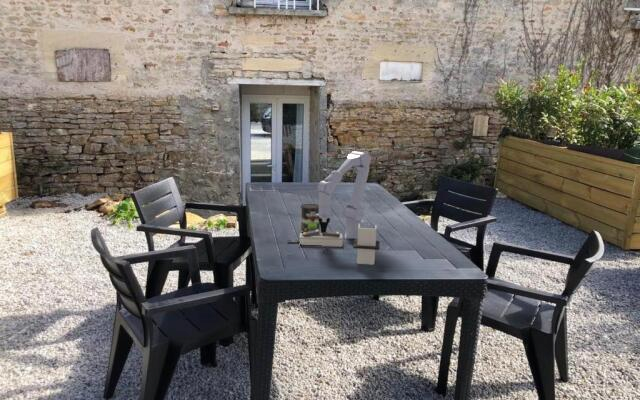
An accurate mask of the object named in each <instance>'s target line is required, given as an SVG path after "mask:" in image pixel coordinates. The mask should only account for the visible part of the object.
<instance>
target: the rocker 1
mask: <svg viewBox="0 0 640 400" xmlns="http://www.w3.org/2000/svg"><path fill="white" fill-rule="evenodd" d="M320 234H321V231H320V232H319V229H317V230H313V231H308V232H304V233H303V237H311V236H315V235H320Z"/></svg>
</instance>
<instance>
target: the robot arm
mask: <svg viewBox="0 0 640 400" xmlns="http://www.w3.org/2000/svg"><path fill="white" fill-rule="evenodd" d="M371 161H372V157H371V156H370V154H369V153H368V152H362V151H356V150H353V151H351V152H350V153H349V154H348V155H347V158H346V159H345V161H344V162H342V164H341V165H340V166H339V168H338V169H337V170H331V172H330V173H329V175H328V176H327V177H326V178H324V180H320V181H319V183H318V185H317V186H316V190H317V192H318V205H319V214H316V216H319V217H320V218H318V221H319V223H320V234H323V232H326V231H328V230H327V229H328V226H329V223H330V221H331V216H332V215H331V203H332V193H333V192H334V190H335V188H336V186H337V184H339V183H340V182H341V181H342V179H343V175H344V174H346V173H347V172H348V171H349V170H350V169H351V168H353V167H355V168H356V170H357V172H356V177H355V182H354V187H353V190H352V194H351V197H350V200H349V201H348V202H346V204H345V206H344V208H343V210H342V215H343V217H345V218H344V219H345V233H344V239H349V240H350V239H352V240H353V239H354V240H355V239H358V226H359V224H360V228H365V221H364V219H363V218H364V210H365V207H364V205H363V203H362V201H363V197H364V193H365V189H366V185H367V181H368V176H369V174H370V173H369V172H370V165H371Z"/></svg>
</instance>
